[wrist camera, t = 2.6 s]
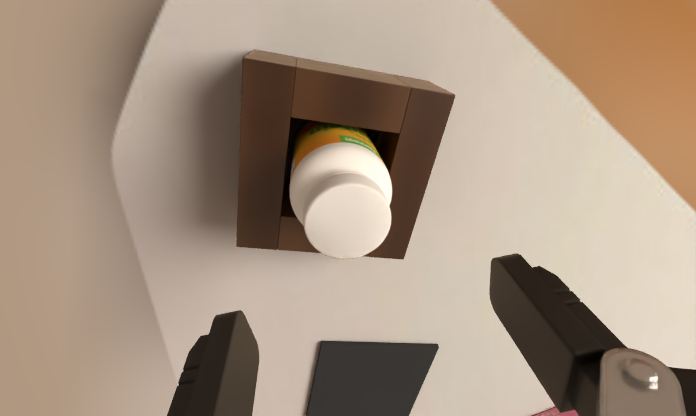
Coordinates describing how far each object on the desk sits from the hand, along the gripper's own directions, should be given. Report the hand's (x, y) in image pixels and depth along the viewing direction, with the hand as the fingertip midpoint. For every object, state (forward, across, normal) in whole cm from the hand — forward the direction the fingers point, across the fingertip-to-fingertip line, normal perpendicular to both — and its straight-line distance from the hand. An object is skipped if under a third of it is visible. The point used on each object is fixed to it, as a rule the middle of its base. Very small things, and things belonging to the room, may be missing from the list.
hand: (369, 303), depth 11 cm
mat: (+15, +1, +26) cm, 30 cm away
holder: (+15, 0, 0) cm, 15 cm away
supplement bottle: (+15, 0, 0) cm, 15 cm away
